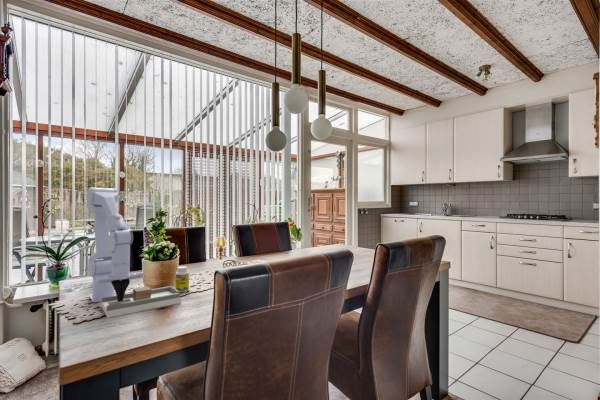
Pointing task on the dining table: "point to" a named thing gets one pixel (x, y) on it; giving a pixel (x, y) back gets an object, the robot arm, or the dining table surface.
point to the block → (141, 293)
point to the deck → (140, 302)
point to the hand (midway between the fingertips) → (120, 300)
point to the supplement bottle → (182, 279)
